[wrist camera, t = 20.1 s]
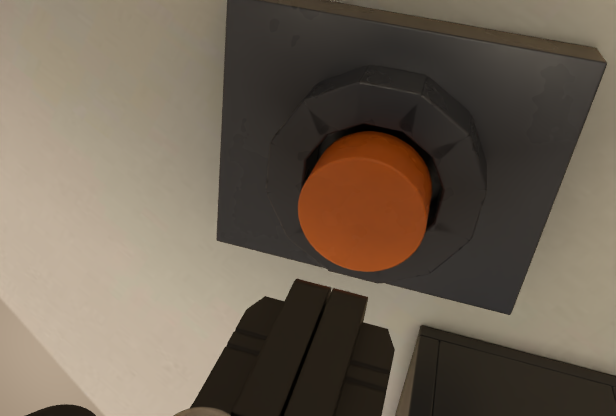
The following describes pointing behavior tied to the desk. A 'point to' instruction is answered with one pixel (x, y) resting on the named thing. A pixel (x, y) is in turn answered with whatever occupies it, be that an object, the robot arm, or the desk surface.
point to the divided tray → (497, 382)
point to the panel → (402, 133)
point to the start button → (366, 202)
